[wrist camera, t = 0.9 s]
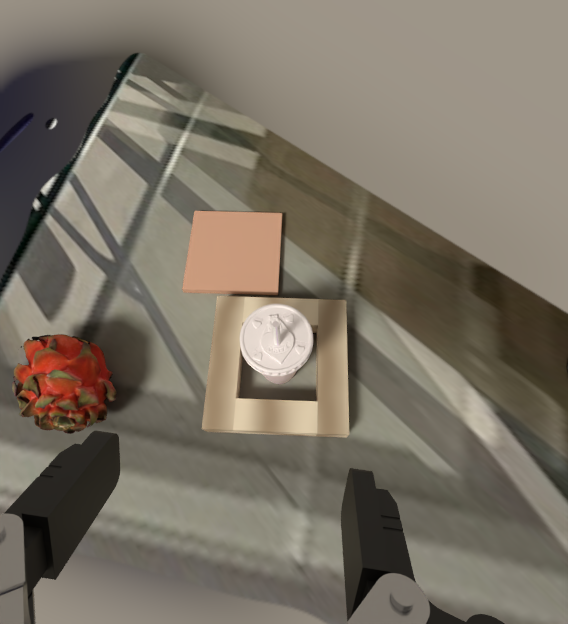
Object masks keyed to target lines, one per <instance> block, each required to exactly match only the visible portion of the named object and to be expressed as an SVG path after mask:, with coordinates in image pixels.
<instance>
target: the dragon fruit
mask: <svg viewBox="0 0 568 624" xmlns="http://www.w3.org/2000/svg"><path fill="white" fill-rule="evenodd" d="M32 339H33V340H30V339H28V340H27V341H26V342H25V343H24V346H23V347H24V350H25V352H26V358H27V359H28V362H29V365H28V366H27V365H21V364H19V363H18V365H17V367H16V368H15V369H14V377H13V378H14V380H19V381H20V382H19V383H18V385H16V383H15V381H14V382H13V383H12V388H13V389H12V390H13V392H14V394H15V396H17V395H18V394H19V393H20V394H19V395H18V396H17V400H18V402H19V408H20V409H22V410H21V412H20V413H19V415H20V416H22V417H30V416H33V415H34V418H35V424H36V426H38V427H40V429H43V430H53V429H56V430H59V431H64V432H65V433H69V434H71V433H74V432H75V431H77V432H79V431H81V430H83V429H84V428H86V426H87V421H89V422H90V423H89V425H88V426H90V425H93V424H94V423H95V422H96V423H99V422H102V421H104V420H106V416H107V407H106V405H105V403H104V400H105V399H107V398H108V400H109V401H110V402H112V401H114V400H115V399H116V393H117V392H116V390H115V388H114V387H113V385H112V383H111V382H110V381H109V378H111V376H112V371H108V370H107V368H106V364H105V357H104V354H103V352H102V350H101V349H100V348H99V347H98V346H97V345H96V344H94V343H92V342H87V341H85V340H82V339H80V338H78V337H74V336H73V337H69V336H67V335H62V334H61V335H52V336H51V335H45V336H40V337H32ZM37 340H40V341H41V342H40V341H37ZM20 348H21V347H20ZM88 426H87V427H88ZM90 427H91V426H90Z"/></svg>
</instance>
